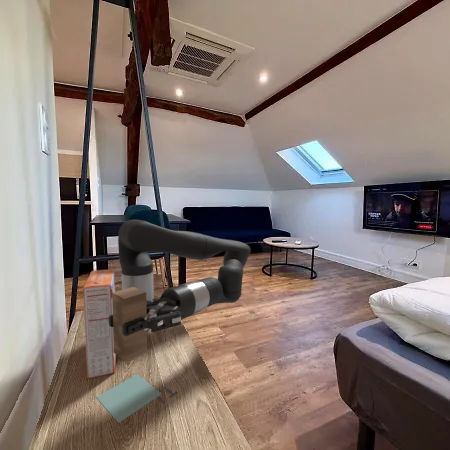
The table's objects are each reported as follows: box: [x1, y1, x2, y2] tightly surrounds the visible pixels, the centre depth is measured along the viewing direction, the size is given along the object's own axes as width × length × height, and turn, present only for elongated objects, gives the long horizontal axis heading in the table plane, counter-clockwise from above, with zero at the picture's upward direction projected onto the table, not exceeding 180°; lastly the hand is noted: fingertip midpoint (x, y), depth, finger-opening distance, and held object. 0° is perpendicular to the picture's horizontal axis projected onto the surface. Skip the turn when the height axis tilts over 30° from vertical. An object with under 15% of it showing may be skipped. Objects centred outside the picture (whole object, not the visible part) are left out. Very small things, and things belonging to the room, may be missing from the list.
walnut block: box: [112, 287, 148, 363], centre depth 49 cm, size 4×4×12 cm
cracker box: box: [82, 268, 117, 380], centre depth 62 cm, size 14×6×21 cm, turn 21°
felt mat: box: [96, 373, 162, 424], centre depth 51 cm, size 9×9×1 cm
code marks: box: [156, 386, 179, 404], centre depth 51 cm, size 3×4×1 cm
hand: (116, 325), depth 47 cm, fingers closed on walnut block, 4 cm apart
